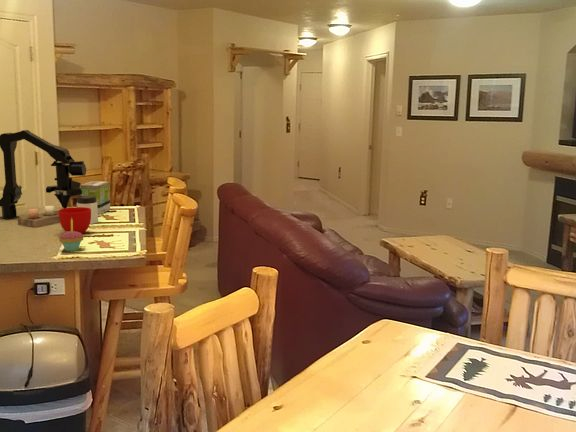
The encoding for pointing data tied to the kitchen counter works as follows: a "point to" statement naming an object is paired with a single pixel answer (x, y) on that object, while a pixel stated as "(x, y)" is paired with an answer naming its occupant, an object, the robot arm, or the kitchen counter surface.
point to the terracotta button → (33, 213)
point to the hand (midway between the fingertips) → (65, 208)
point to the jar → (89, 206)
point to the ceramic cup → (75, 218)
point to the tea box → (98, 194)
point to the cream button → (49, 210)
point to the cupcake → (71, 239)
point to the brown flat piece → (39, 220)
